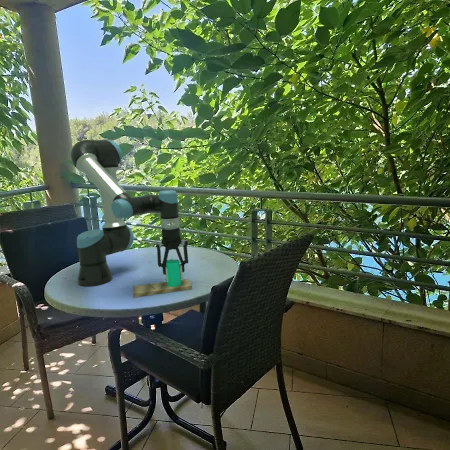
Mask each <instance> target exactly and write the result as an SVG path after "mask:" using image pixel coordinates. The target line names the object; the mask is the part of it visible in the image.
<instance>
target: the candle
mask: <svg viewBox="0 0 450 450" xmlns="http://www.w3.org/2000/svg"><path fill="white" fill-rule="evenodd" d="M180 264H181V262H180V260H179V258H178V259H177V258H176V259H174V258H171V259H167V262H166V267H167V274H168V282H167V286H169V287H176V286H179V285H181V277H180Z"/></svg>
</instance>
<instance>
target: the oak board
mask: <svg viewBox="0 0 450 450" xmlns="http://www.w3.org/2000/svg"><path fill="white" fill-rule="evenodd" d="M192 289H193V285H192V283H191V282H190V279H189V278H185V279H184V278H183V280H181V285H179V286H176V287H169V286H167V282H166V281H164V282H154V283H148V284H146V283H145V284H140V285H139V284H138V285H133V288H132V290H133V291H132V292H133V293H132V294H133V298H140V297H147V296H153V295H160V294H168V293H175V292H182V291H189V290H192Z"/></svg>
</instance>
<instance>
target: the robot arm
mask: <svg viewBox="0 0 450 450" xmlns="http://www.w3.org/2000/svg"><path fill="white" fill-rule="evenodd" d="M70 160H71V163H72V165H73V166H74V167H75V168H76V170H78V172H81V173H83V174H85V176H86V177H87V178H88V179H89V180H90V181H91V182H92V183H93V185H95V187H96V188H97V189H98V190H99V193H100V195H99V196H100V200H101V207H102V212H103V213H102V214H103V220H104V221H103V222H104V224H103V225H102V226H101V227H102V229H100V228H96V229H91V230H87V231H83V232H81V233H80V234H78V236H77V237H76V247H77V253H78V254H77V255H78V261H79V270H78V274H77V284H78V285H79V286H81V287H94V286H100V285H103V284H107V283H109V282H110V281H112V280H113V274H112V271H111V269H110V267H109V265H108V263H107V256H110V255H113V254H117V253H121V252H125V251H127V250H128V249H130V248H131V247H132V246H133V244H134V239H135V236H134V232H133V230H132V229H131V227H130V226H128V225H127V222H125V221H124V219H128V218H132V217H135V216H141V215H146V214H151V213H153V214H155V213H157V214H160V227H161V238H162V239H161V241H160V242H156V243H155V244H154V245H155V247H156V252H157V253H156V254H157V266H158V267H159V268H162V274H163V275H165V282H168V274H167V267H166V262H167V260H168V257H169V252H170V251H172V250H175V251H176V254H177V257H178V260H179V262H180V277H181V280H184V276H183V273H185V266H186V265H187V264H188V263H189V255H188V243H189V241H188V240H187V239H182V238H181V229H180V215H179V199H178V192H177V191H176V190H171V189H170V190H168V189H165V190H160V191H158V195H157V194H151V193H148V194H143V195H141V196H135V197H134V196H133V197H132V196H131V195H130V193H128V192H127V191H126V190H125V189H124V188H123V187H122V185H121V184H120V183H119V181H118V177H117V176H118V175H117V171H118V170H119V166H120V164H121V163H122V161H123V152H122V148H121V147H120V145H119V144H118V143H117V142H116V141H114V140H110V139H109V140H107V139H82V140H79V141H77V142H76V143H75V144H74V145H73V146H72V148H71V151H70ZM180 245H182V247H183V248H182V249H183V257H182V254H181V251H180V249H179V248H180V247H179V246H180ZM162 246H164V248H165V249H164V254H163V258H162V255H161V248H162ZM162 259H163V260H162Z"/></svg>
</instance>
